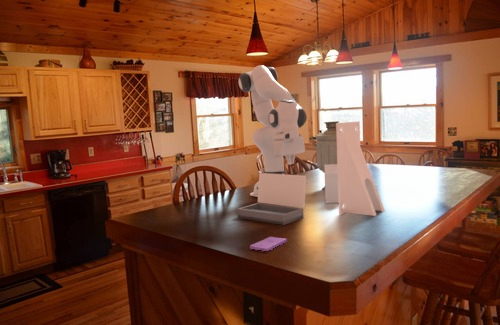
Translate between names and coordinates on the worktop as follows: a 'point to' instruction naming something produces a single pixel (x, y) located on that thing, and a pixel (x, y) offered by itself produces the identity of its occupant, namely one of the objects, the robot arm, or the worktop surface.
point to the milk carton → (331, 183)
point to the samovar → (326, 146)
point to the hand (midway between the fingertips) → (290, 164)
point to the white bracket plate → (354, 174)
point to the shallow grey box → (270, 213)
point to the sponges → (268, 243)
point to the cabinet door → (282, 189)
